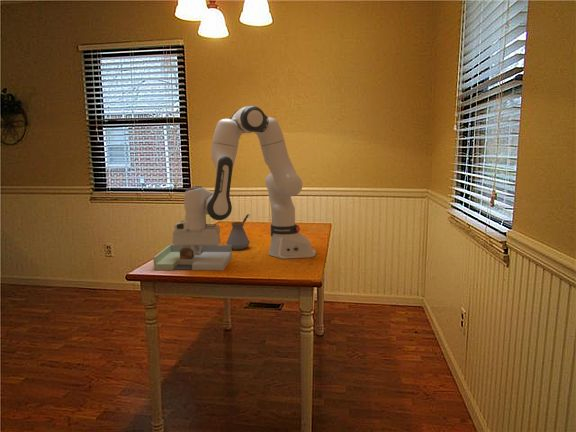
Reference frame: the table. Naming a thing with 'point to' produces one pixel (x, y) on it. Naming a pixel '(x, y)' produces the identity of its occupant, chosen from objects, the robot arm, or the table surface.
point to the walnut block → (186, 253)
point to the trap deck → (207, 260)
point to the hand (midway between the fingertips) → (197, 255)
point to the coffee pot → (238, 236)
